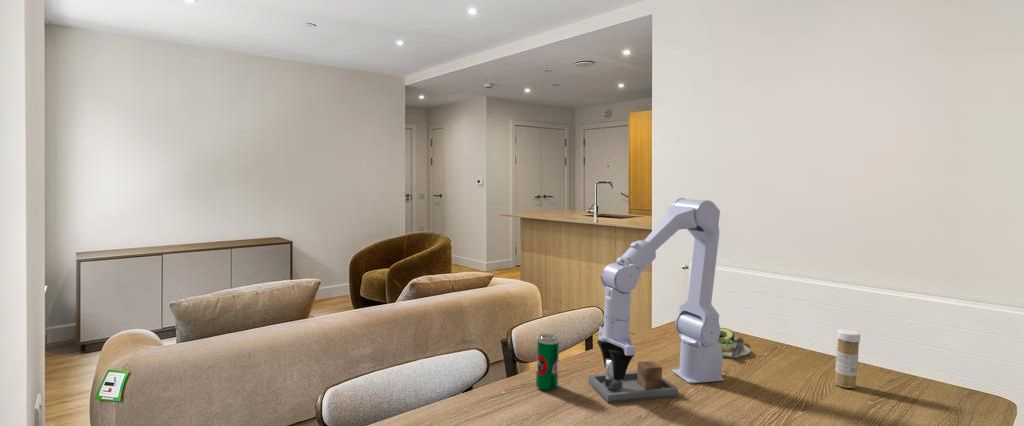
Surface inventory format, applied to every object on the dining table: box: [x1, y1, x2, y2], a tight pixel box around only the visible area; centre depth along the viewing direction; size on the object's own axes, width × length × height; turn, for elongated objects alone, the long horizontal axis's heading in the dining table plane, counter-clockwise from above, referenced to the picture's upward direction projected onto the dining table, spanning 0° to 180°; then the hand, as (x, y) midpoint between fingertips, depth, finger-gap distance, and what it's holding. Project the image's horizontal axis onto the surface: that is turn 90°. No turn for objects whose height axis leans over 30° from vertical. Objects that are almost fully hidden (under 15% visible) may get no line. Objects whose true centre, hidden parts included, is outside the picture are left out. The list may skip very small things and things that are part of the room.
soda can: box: [535, 333, 560, 392], centre depth 121 cm, size 5×5×12 cm
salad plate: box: [717, 327, 751, 359], centre depth 149 cm, size 19×18×5 cm
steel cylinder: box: [604, 357, 623, 389], centre depth 119 cm, size 4×4×6 cm
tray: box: [587, 371, 679, 404], centre depth 121 cm, size 17×11×2 cm, turn 104°
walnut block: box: [637, 360, 663, 390], centre depth 122 cm, size 4×4×5 cm
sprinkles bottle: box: [833, 328, 861, 389], centre depth 125 cm, size 5×5×14 cm
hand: (614, 375), depth 119 cm, fingers closed on steel cylinder, 4 cm apart
